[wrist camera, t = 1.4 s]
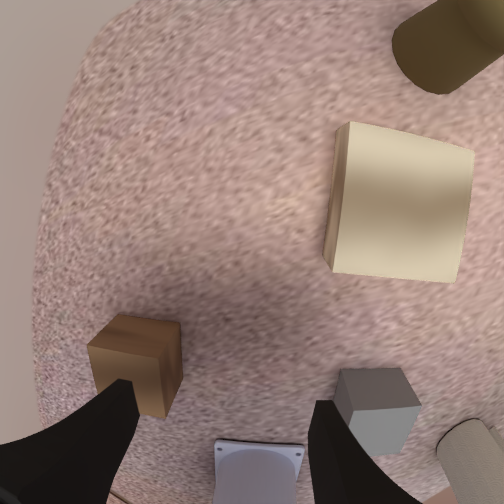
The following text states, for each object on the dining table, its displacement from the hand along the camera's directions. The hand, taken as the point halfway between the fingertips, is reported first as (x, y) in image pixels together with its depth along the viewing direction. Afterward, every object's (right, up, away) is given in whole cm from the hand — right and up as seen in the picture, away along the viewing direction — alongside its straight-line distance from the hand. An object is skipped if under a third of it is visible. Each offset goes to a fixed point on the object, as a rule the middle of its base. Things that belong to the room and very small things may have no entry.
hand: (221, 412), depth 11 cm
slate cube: (+10, -5, +12) cm, 16 cm away
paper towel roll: (+24, -14, +13) cm, 30 cm away
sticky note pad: (+10, +10, +8) cm, 16 cm away
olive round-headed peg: (+14, +20, +5) cm, 25 cm away
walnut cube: (-7, -1, +12) cm, 14 cm away
